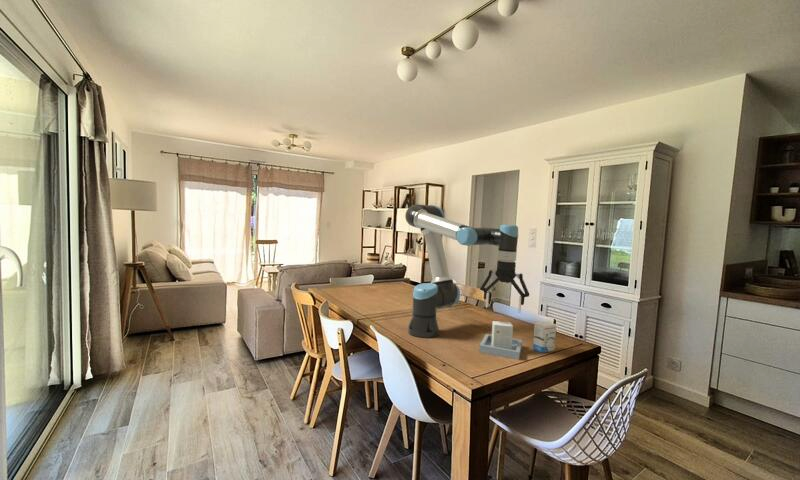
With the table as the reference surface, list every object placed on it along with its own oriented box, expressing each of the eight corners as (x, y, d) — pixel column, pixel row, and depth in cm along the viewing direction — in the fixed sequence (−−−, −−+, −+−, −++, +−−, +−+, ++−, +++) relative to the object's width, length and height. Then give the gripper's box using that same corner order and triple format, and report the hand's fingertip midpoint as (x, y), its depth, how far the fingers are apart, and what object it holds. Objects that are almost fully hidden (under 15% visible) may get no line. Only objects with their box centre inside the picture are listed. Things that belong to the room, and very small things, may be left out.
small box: (509, 345, 149) (511, 322, 149) (512, 350, 144) (513, 326, 143) (490, 343, 150) (492, 320, 150) (492, 348, 145) (494, 324, 144)
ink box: (541, 353, 144) (543, 326, 144) (532, 349, 149) (534, 323, 148) (555, 350, 148) (557, 324, 148) (545, 346, 153) (547, 321, 152)
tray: (479, 351, 143) (479, 345, 143) (485, 340, 158) (486, 333, 157) (518, 359, 137) (519, 352, 136) (521, 346, 151) (522, 340, 151)
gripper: (475, 258, 146) (472, 306, 148) (537, 265, 136) (533, 316, 138) (479, 256, 153) (475, 302, 155) (538, 262, 143) (533, 311, 145)
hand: (502, 309), depth 146 cm, fingers open, 13 cm apart
